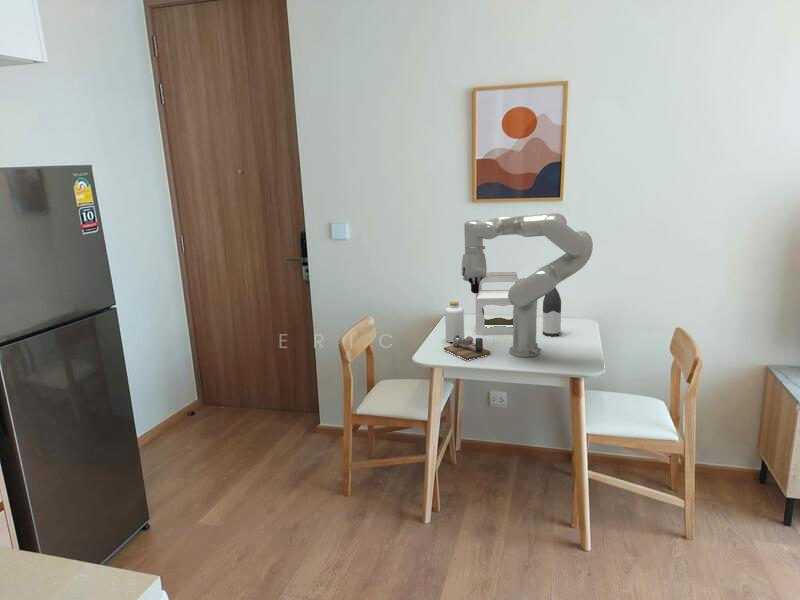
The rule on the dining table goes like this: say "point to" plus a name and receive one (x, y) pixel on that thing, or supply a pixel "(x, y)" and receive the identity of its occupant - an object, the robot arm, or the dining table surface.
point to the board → (466, 350)
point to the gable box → (494, 299)
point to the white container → (454, 321)
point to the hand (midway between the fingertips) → (475, 292)
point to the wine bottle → (552, 314)
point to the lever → (466, 343)
